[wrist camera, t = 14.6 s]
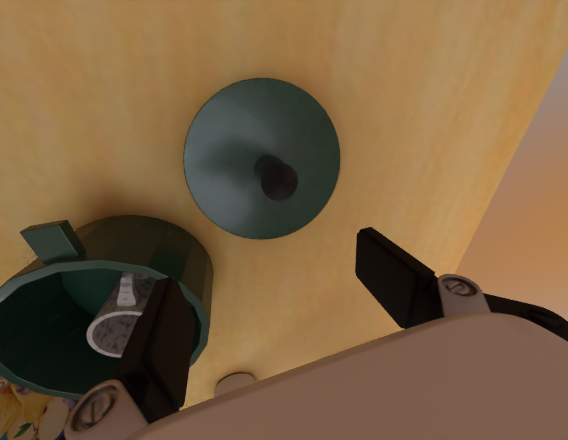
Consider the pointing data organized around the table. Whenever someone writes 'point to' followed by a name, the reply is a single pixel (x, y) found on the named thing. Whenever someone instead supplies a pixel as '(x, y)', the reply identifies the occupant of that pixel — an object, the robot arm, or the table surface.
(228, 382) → the milk bottle
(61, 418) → the juice carton
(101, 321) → the mug
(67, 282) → the pot
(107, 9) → the table surface
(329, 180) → the lid
